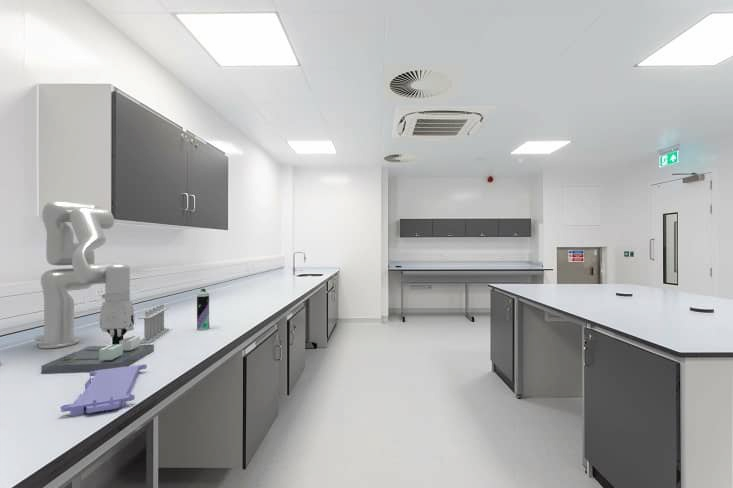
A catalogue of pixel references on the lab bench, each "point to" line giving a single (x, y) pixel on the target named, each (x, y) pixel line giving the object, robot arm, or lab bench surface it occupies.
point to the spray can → (203, 310)
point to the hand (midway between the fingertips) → (117, 346)
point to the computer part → (106, 390)
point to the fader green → (111, 352)
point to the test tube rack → (153, 324)
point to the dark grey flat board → (94, 360)
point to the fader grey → (130, 342)
